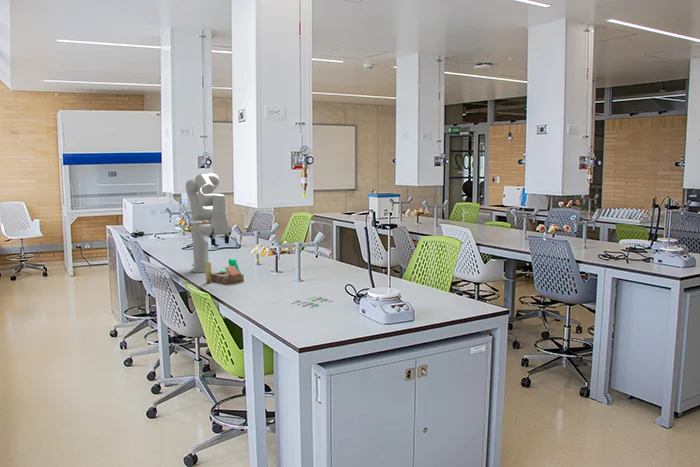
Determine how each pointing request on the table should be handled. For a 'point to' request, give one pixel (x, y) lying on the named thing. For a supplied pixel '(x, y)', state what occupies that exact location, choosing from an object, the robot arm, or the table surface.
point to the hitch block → (226, 277)
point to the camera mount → (232, 264)
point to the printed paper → (304, 302)
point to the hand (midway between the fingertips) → (220, 244)
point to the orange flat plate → (232, 271)
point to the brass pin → (208, 272)
